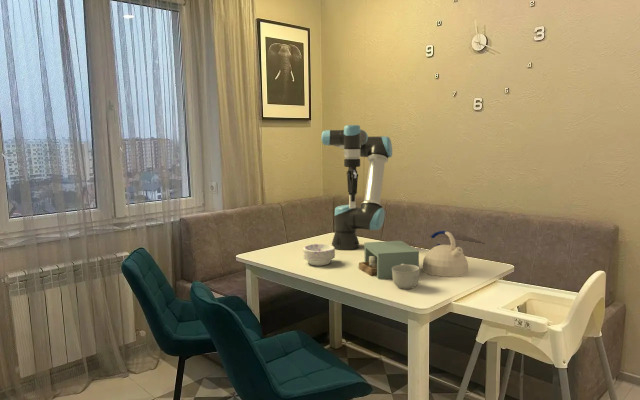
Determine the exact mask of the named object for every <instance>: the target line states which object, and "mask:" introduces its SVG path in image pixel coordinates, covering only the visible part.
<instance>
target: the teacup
mask: <svg viewBox="0 0 640 400" xmlns="http://www.w3.org/2000/svg"><path fill="white" fill-rule="evenodd" d="M392 276H393V278H392V281H393V284H394V285H395V286H397V288H398V289H401V290H407V289H408V290H409V289H410V290H411V289H414V288H416V286H417V285H418V284H419V283H420V282H419V281H420V266H419V267H418V266H415V265H406V264H401V265H397V266H394V267H392Z"/></svg>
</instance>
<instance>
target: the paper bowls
mask: <svg viewBox="0 0 640 400" xmlns="http://www.w3.org/2000/svg"><path fill="white" fill-rule="evenodd" d="M302 249H303V250H302V251H303V252H302V254H303V255H302V257H303V259H304V260H306V261H307V263H308V264H309V265H311V266H318V267H319V266H325V265H329V264H330V263H331V261H332V260H333V259H334V258H336V249H335V247H334V246H332V244H327V243H326V244H325V243H313V244H308V245H305V246H303V247H302Z"/></svg>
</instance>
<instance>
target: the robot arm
mask: <svg viewBox="0 0 640 400" xmlns="http://www.w3.org/2000/svg"><path fill="white" fill-rule="evenodd" d="M321 143H322V145H324V146H334V147H335V148H336V147H337V148H340V149H341V150H343V152H342V153H343V154H344V155H343V156H344V158H345V159H344V160H343V161H344V162H343V163H344V164H343V166H344V167H346V168H348V169H347V171H346V180H347V193H348V197H349V198H348V199H349V201H348V204H342V205H337V206H336V207H335V208H334V235H333V238H332V241H331V245H332V246H334V247H335V250H339V251H340V250H341V251H349V250H350V251H351V250H356V249H359V248H360V241H359V237H358V234H357V230H369V231H379V230H380V229H382V227H383V225H384V222H385V218H386V216H385V215H386V210H385V209H384V208H383V205H382V204H381V198H382V190H383V181H384V174H385V164H386V163H387V162H388V161H389V159H390V158H392V157H393V145H392V144H393V143H392V140H391V138H390V137H389V136H382V135H380V136H379V135H378V136H369V134H368V133H367V131H365V130H363V129H361V126H360V125H359V124H346V125H345V126H344V127H343V129H326V130H323V131H322V132H321ZM361 158H366V159H367V161H368V171H367V176H366V177H367V178H366V185H365V191H364V199H363V201H362V202H361V203H360V207H357V205H356V204H357V203H356V202H357V201H356V198H357V197H356V195H357V194H358V179H359V174H358V171H357V168H358V167H361Z"/></svg>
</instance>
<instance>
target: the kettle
mask: <svg viewBox="0 0 640 400" xmlns="http://www.w3.org/2000/svg"><path fill="white" fill-rule="evenodd" d="M441 234H442V235H443V234H444V235H446V236H447V237H448V239H449V241H450V244H441V243H436V246H434V247H432V248H430V249H429V250H428V251H427V253H426V254H425V255H424V258H423V261H422V269H421V270H422V271H423V273H426V274H428V275H430V276H431V275H432V276H437V277H444V278H445V277H447V278H451V277H453V278H454V277H456V278H457V277H461V276H466V275H467V274H468V273H469V261H468V260H467V259H468V258H467V257H466V255H465V254H464V249H463V248H462V247H460V246H457V247H456V245H457V244H456V240H455V236H453V234H452V233H451V232H449V231H447V230H439V231H435V232H433V234H432V235H431V236H430V238H432V239H435V238H436V237H437V236H439V235H441Z"/></svg>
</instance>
